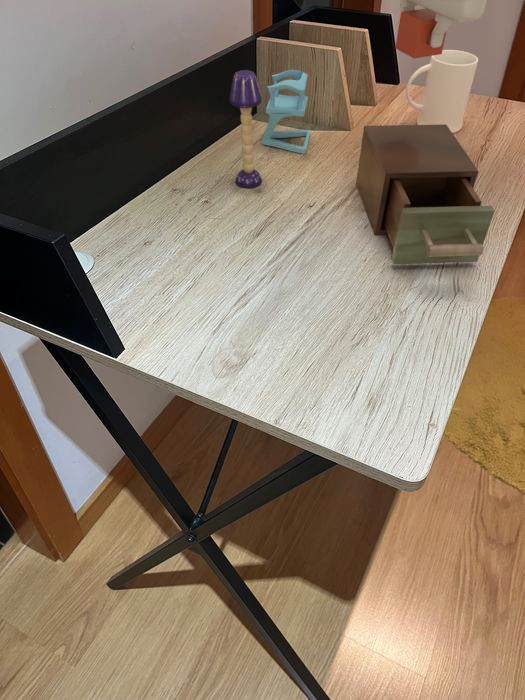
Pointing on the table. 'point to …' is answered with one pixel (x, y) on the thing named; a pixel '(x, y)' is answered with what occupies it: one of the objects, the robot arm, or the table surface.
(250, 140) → the toy lamp
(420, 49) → the block
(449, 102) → the mug
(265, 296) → the table surface
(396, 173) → the cabinet
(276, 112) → the chair
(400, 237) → the drawer
